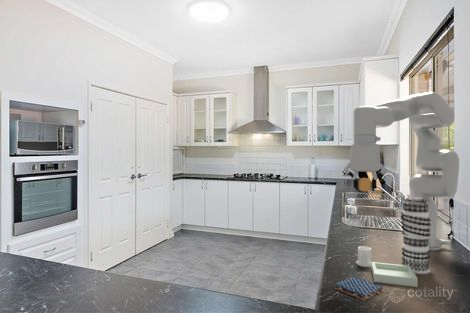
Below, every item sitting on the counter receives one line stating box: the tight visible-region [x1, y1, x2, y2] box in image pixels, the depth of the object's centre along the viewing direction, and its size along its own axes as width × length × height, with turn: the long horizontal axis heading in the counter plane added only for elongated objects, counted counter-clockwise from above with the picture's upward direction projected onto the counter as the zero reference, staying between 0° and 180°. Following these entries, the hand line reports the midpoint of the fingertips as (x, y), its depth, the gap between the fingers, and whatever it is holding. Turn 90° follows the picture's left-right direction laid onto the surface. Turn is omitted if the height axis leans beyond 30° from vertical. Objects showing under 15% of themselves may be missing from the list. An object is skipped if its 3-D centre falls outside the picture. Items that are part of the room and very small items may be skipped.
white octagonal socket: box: [355, 245, 372, 268], centre depth 115 cm, size 6×6×6 cm
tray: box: [370, 261, 419, 288], centre depth 103 cm, size 12×12×2 cm
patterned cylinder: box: [400, 196, 431, 275], centre depth 110 cm, size 9×9×25 cm
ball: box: [358, 177, 372, 192], centre depth 115 cm, size 5×5×5 cm
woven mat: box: [334, 276, 384, 301], centre depth 93 cm, size 10×11×2 cm
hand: (364, 189), depth 115 cm, fingers closed on ball, 4 cm apart
